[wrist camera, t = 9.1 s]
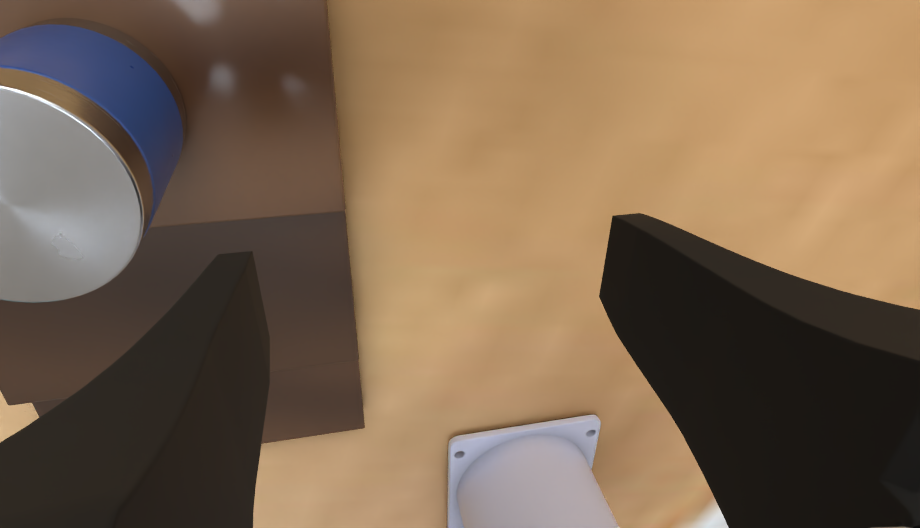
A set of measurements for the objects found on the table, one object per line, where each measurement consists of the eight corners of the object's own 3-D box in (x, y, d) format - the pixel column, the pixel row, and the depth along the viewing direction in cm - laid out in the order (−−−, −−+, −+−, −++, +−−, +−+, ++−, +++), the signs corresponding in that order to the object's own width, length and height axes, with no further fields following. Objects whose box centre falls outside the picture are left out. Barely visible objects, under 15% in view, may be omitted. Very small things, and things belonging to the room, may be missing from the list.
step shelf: (362, 408, 28) (369, 472, 25) (75, 450, 25) (46, 525, 22) (319, -58, 18) (322, -45, 15) (-166, -60, 15) (-278, -44, 12)
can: (204, 183, 17) (170, 292, 12) (27, 195, 16) (-78, 317, 12) (167, 14, 15) (107, 73, 10) (-45, 17, 14) (-211, 85, 9)
